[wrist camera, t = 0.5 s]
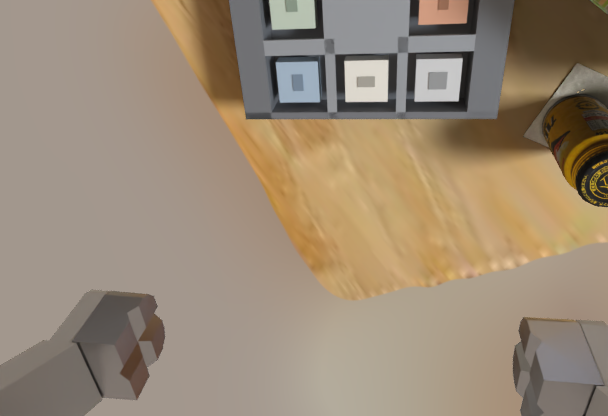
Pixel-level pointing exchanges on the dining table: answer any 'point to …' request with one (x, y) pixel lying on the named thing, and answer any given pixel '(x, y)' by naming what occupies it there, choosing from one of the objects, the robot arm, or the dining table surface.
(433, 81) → the key grey
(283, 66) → the key blue
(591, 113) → the condiment
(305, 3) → the key sage
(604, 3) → the tea box
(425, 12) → the key terracotta
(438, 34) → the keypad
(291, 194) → the dining table surface
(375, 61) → the key cream
